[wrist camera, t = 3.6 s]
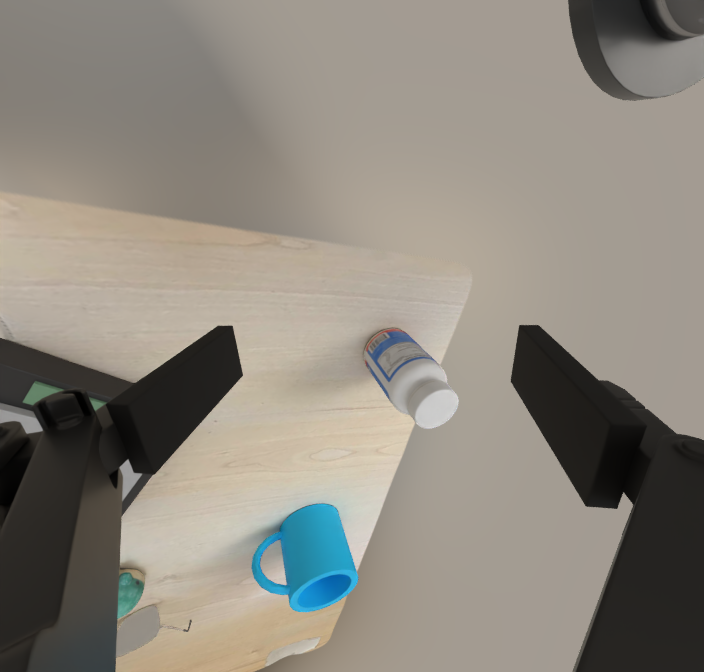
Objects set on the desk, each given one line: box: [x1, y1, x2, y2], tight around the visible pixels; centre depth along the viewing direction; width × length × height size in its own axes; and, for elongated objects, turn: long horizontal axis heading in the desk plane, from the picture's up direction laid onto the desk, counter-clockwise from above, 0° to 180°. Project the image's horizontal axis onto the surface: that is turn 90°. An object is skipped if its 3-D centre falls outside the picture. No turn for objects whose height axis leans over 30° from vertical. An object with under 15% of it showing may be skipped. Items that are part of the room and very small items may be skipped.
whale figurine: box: [117, 569, 145, 619], centre depth 35 cm, size 6×7×4 cm
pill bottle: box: [364, 328, 459, 429], centre depth 30 cm, size 6×5×10 cm
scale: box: [0, 338, 153, 517], centre depth 26 cm, size 16×14×3 cm
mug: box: [252, 504, 358, 612], centre depth 40 cm, size 12×8×8 cm
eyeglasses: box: [116, 605, 192, 658], centre depth 41 cm, size 14×8×4 cm, turn 101°
